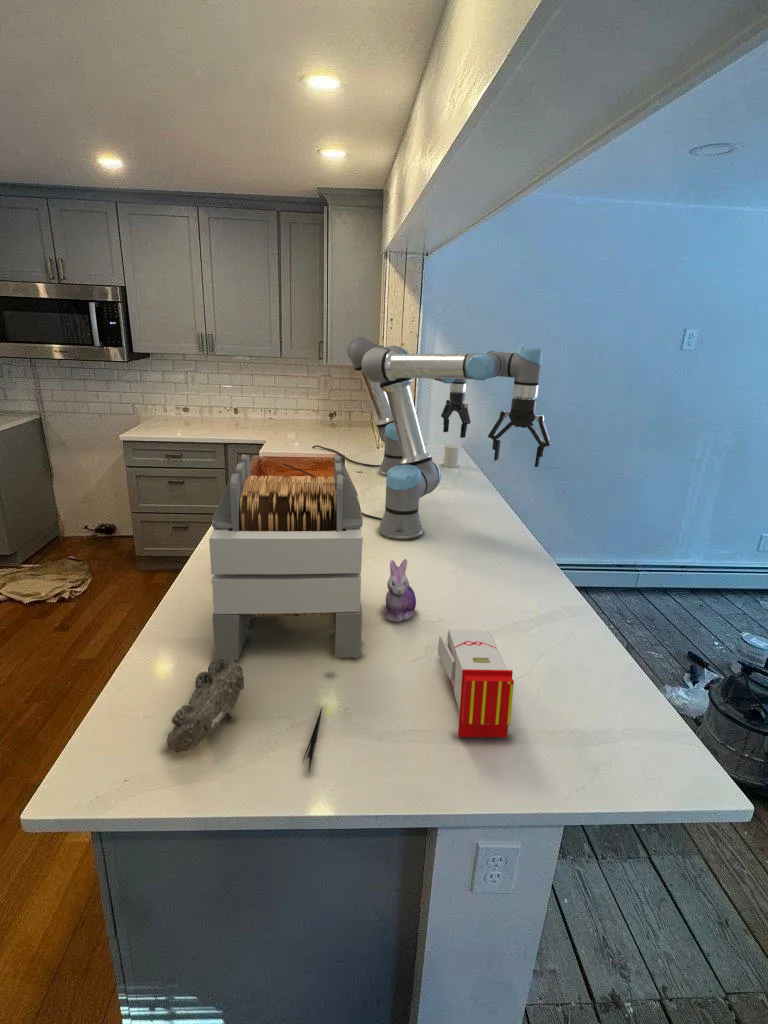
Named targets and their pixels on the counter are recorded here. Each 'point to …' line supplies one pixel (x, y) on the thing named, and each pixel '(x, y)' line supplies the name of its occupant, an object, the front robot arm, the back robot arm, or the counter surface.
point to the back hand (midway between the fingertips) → (454, 434)
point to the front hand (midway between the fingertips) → (516, 462)
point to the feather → (313, 740)
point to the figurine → (399, 594)
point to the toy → (478, 682)
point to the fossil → (206, 705)
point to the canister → (451, 455)
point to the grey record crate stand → (286, 555)
